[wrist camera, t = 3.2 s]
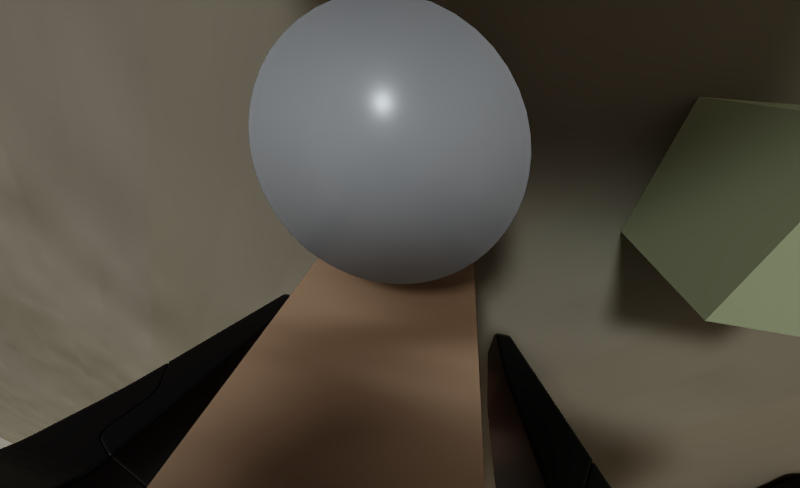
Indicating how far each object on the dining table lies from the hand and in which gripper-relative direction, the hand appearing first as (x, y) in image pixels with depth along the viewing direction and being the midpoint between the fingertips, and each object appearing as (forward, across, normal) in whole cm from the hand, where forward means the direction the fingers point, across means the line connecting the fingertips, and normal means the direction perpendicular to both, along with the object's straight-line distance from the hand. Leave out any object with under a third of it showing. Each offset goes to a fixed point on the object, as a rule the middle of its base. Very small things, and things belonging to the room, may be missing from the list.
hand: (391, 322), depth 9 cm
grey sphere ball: (+2, 0, -6) cm, 6 cm away
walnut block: (+2, 0, 0) cm, 2 cm away
